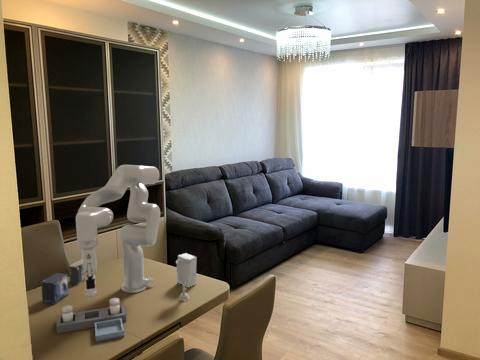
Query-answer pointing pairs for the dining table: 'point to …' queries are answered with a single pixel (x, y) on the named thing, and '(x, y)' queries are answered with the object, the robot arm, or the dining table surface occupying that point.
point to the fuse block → (88, 319)
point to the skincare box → (192, 276)
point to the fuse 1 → (67, 313)
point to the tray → (109, 330)
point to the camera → (76, 273)
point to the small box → (54, 288)
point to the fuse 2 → (114, 306)
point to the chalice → (183, 274)
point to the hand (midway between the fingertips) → (90, 285)
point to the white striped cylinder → (90, 290)
